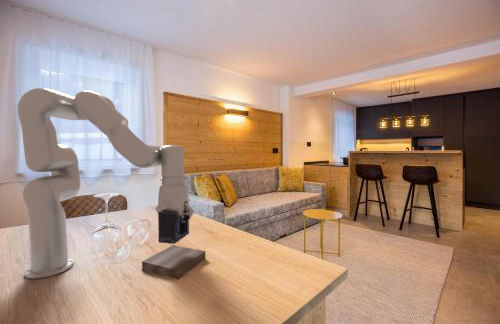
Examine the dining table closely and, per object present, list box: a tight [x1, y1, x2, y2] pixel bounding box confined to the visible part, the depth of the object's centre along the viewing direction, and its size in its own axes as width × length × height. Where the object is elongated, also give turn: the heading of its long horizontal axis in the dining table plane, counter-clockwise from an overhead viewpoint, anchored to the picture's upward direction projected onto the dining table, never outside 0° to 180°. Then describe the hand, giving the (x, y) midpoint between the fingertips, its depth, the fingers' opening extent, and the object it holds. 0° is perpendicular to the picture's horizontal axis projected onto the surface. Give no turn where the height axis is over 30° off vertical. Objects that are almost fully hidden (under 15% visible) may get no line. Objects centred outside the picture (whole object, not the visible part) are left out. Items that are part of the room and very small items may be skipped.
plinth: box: [141, 244, 206, 280], centre depth 83 cm, size 15×15×3 cm
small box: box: [157, 210, 190, 245], centre depth 83 cm, size 11×6×10 cm, turn 168°
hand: (174, 231), depth 83 cm, fingers closed on small box, 7 cm apart
